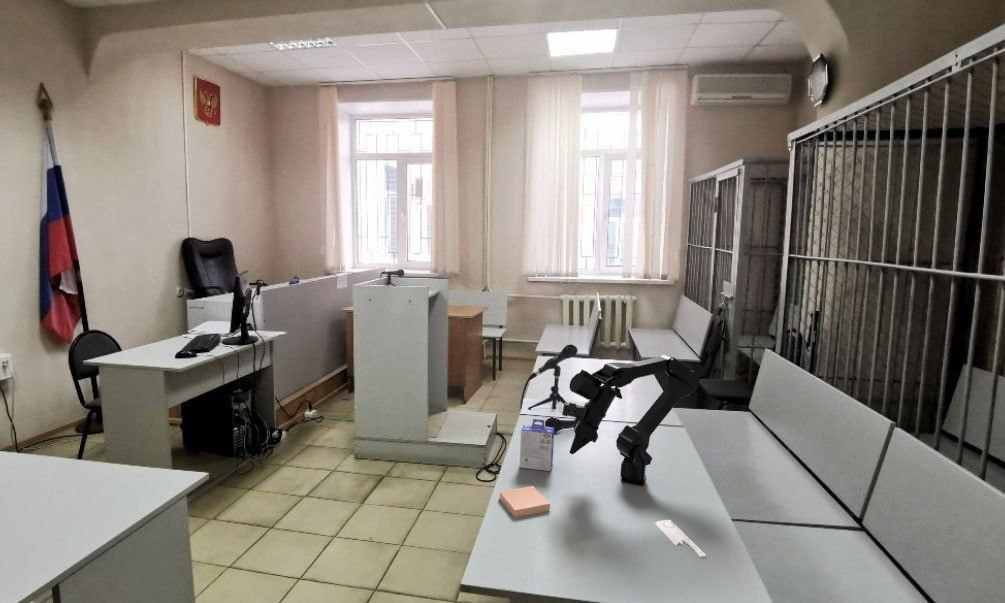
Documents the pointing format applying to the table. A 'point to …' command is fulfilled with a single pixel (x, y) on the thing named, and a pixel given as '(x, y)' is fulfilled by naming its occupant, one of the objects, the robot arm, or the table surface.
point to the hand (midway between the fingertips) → (570, 453)
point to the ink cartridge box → (537, 446)
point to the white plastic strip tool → (677, 535)
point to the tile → (524, 501)
